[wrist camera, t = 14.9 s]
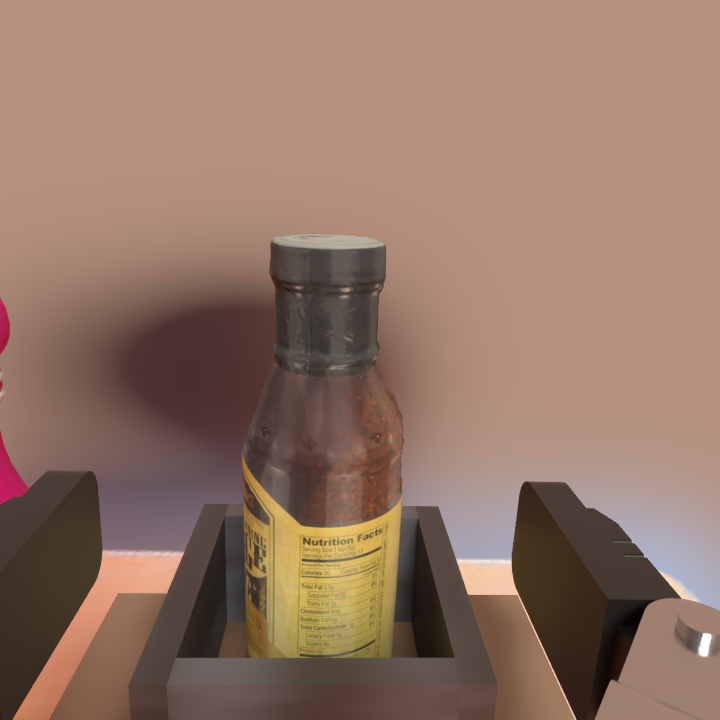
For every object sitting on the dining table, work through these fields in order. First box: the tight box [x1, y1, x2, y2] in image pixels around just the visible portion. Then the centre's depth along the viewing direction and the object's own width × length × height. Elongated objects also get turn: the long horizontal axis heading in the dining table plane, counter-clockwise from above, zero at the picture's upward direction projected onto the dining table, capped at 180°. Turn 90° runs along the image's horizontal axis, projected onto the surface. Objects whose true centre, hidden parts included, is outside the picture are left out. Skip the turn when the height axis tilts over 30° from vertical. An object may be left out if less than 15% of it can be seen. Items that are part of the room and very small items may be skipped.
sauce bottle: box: [242, 234, 404, 658], centre depth 24 cm, size 7×6×20 cm
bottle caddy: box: [50, 504, 574, 720], centre depth 26 cm, size 22×14×7 cm, turn 92°
